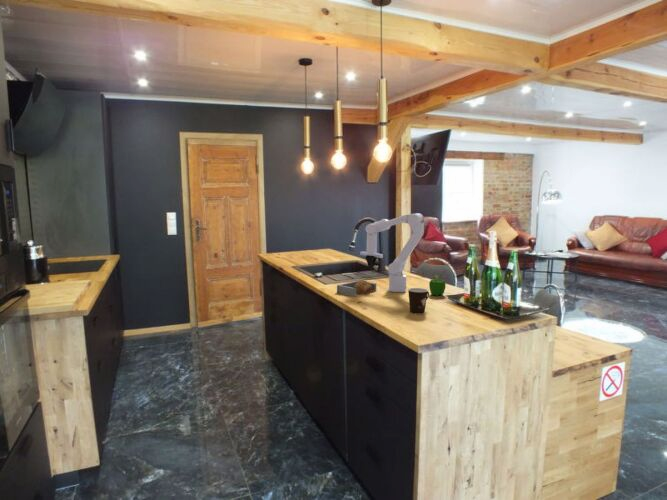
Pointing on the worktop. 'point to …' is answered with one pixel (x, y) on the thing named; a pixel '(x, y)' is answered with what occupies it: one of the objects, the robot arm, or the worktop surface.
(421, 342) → the worktop surface
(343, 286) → the box
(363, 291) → the bread roll
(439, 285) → the bell pepper
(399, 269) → the robot arm
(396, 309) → the worktop surface
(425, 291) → the coffee mug
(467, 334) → the worktop surface
